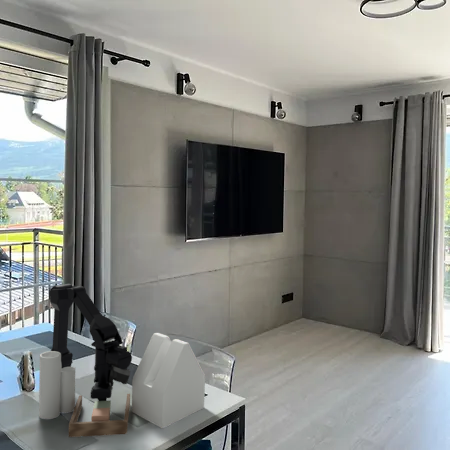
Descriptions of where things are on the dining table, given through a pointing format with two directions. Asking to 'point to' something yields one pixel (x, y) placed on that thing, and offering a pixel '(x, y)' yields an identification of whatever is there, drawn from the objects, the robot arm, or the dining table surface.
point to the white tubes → (55, 386)
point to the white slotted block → (167, 382)
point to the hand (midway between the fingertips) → (103, 406)
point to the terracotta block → (100, 414)
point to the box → (97, 423)
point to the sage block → (102, 404)
